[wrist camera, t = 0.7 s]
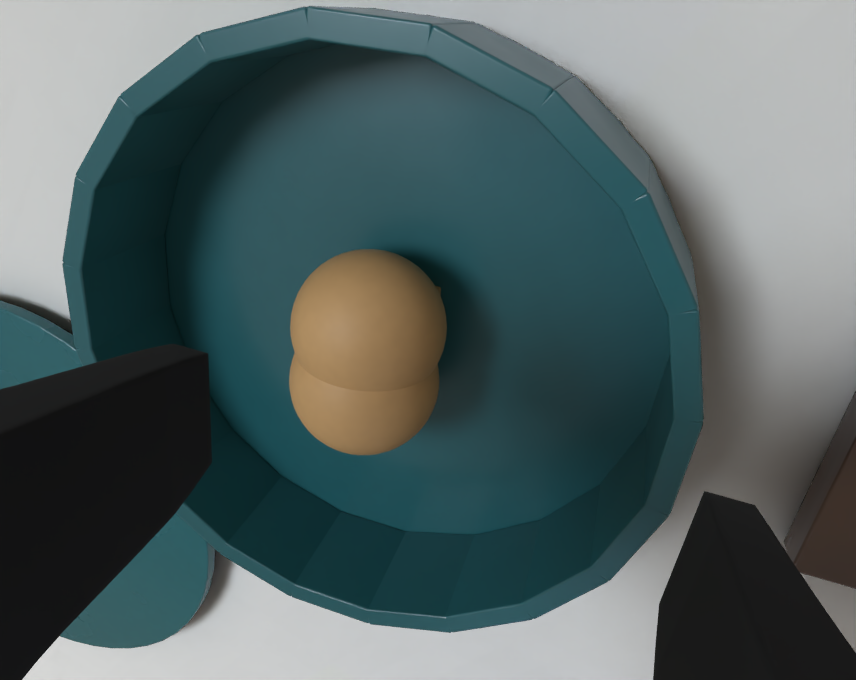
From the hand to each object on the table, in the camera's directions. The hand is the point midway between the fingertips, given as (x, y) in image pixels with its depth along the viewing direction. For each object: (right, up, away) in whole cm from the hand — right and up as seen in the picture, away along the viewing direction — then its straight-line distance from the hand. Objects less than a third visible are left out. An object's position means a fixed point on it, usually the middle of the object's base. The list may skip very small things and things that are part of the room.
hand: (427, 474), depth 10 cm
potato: (-1, +2, +10) cm, 10 cm away
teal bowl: (-1, +3, +10) cm, 11 cm away
